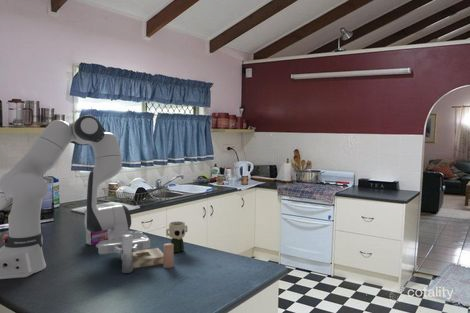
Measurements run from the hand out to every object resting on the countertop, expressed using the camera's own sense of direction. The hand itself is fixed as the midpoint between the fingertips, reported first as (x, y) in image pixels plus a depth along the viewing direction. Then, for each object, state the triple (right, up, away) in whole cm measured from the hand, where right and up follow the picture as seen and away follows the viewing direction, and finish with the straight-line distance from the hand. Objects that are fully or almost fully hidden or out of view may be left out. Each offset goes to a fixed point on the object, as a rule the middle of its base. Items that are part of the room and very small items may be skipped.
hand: (127, 250), depth 149 cm
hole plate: (+3, -8, +14) cm, 16 cm away
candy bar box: (-26, -6, +41) cm, 48 cm away
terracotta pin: (+14, -8, +9) cm, 19 cm away
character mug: (+15, -7, +28) cm, 32 cm away
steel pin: (0, -8, +2) cm, 8 cm away
